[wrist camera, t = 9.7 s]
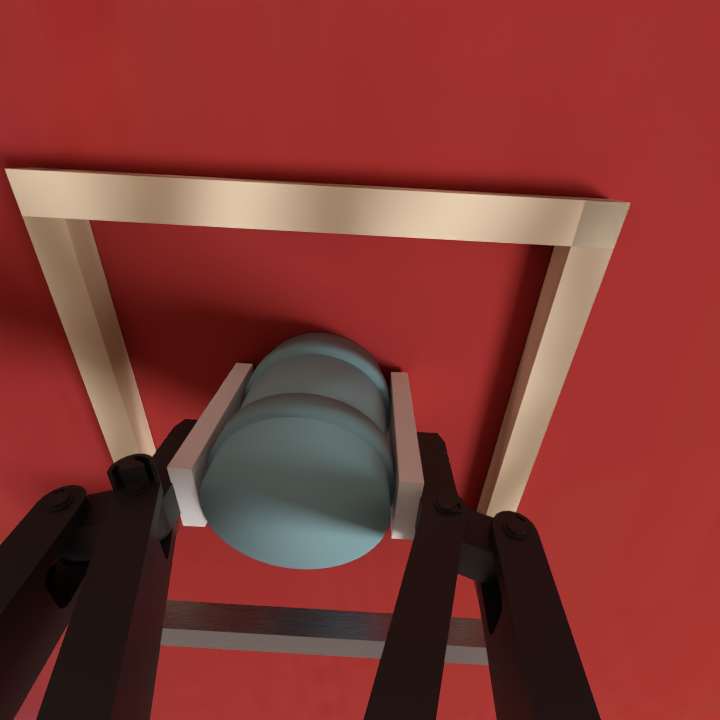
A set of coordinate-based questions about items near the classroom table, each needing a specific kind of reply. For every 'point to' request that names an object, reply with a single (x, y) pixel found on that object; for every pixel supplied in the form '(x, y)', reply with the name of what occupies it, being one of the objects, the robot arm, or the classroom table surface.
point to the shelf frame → (325, 215)
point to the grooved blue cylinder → (305, 458)
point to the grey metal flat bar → (302, 630)
